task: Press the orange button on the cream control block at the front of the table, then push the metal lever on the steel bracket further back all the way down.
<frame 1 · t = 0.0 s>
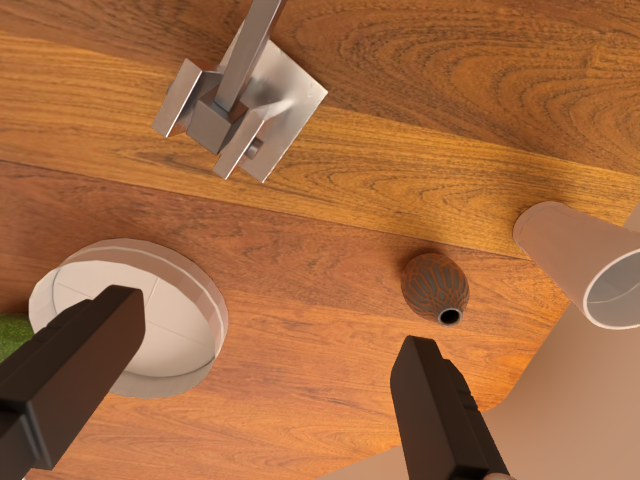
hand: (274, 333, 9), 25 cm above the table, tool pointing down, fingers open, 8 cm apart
fruit: (36, 335, 44), on the table
dish: (147, 310, 41), on the table
vase: (423, 268, 38), on the table
metal lever: (253, 37, 15), point 14 cm above the table, hinge at 25.0°
cup: (540, 226, 35), on the table
lever bracket: (257, 109, 30), on the table
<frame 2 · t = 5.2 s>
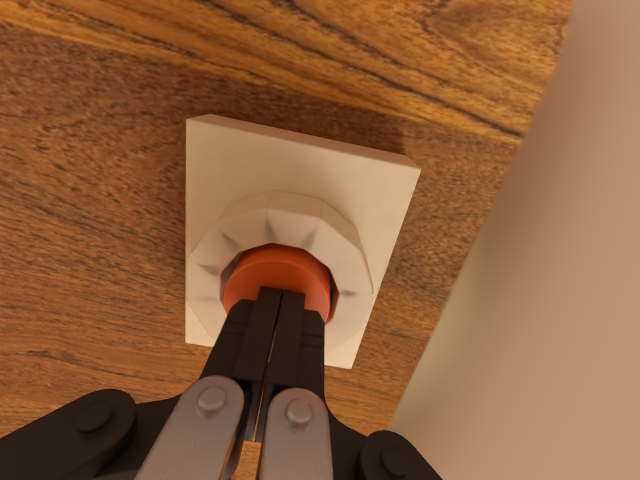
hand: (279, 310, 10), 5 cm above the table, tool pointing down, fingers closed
power button: (280, 290, 11), point 4 cm above the table, slide at -0.7 cm, touching gripper
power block: (290, 244, 14), on the table
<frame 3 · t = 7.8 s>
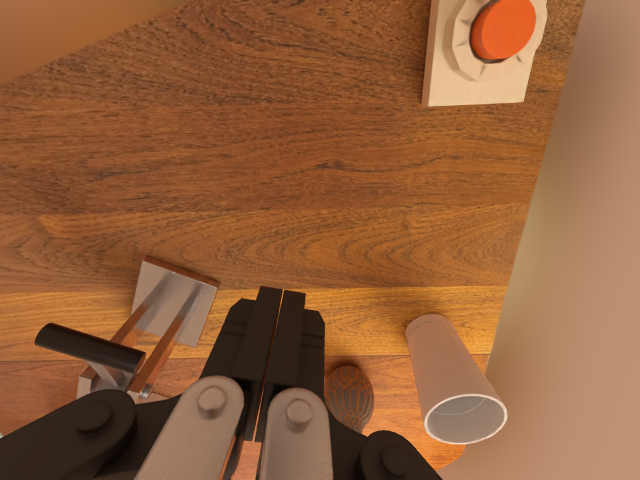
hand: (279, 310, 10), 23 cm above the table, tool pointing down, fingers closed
power button: (502, 29, 22), point 4 cm above the table, slide at 0.1 cm
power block: (475, 37, 26), on the table
vase: (346, 373, 45), on the table
metal lever: (109, 370, 25), point 14 cm above the table, hinge at 25.0°
cup: (428, 331, 41), on the table
lever bracket: (175, 301, 39), on the table
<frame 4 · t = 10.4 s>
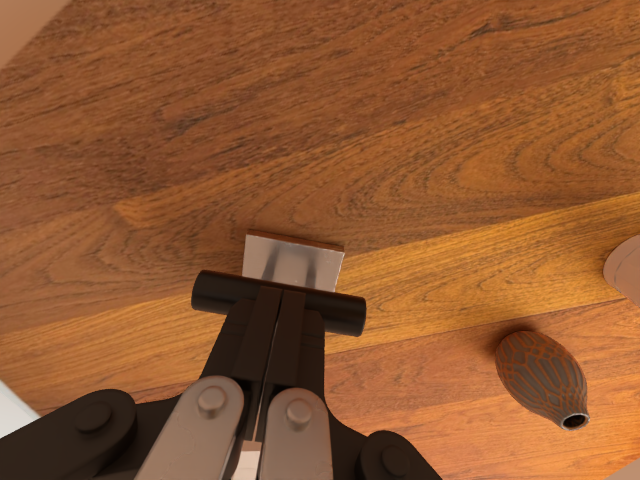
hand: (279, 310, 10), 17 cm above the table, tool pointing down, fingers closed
dish: (270, 457, 45), on the table
vase: (516, 343, 34), on the table
metal lever: (272, 361, 16), point 14 cm above the table, hinge at 23.0°, touching gripper
cup: (637, 260, 29), on the table
lever bracket: (288, 285, 31), on the table
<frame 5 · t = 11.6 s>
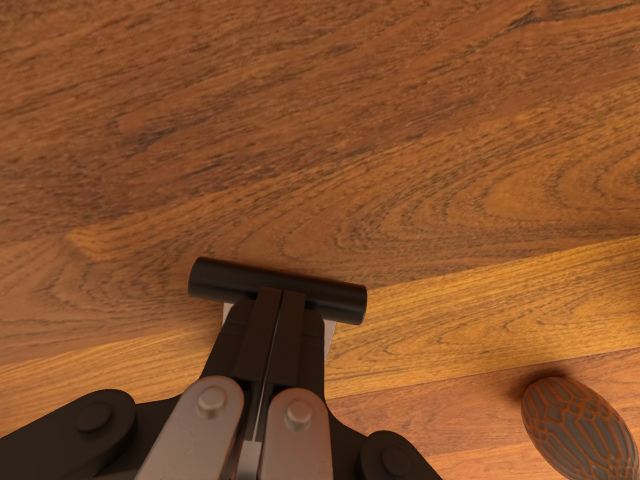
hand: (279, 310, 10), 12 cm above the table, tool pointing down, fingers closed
vase: (544, 389, 29), on the table
metal lever: (258, 414, 13), point 12 cm above the table, hinge at -4.0°, touching gripper
lever bracket: (278, 325, 26), on the table
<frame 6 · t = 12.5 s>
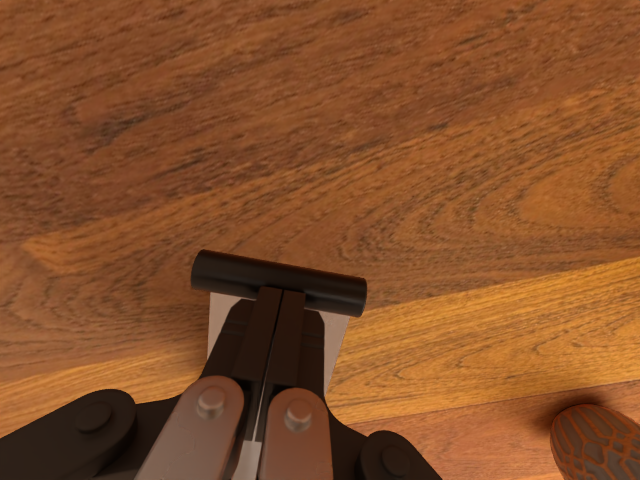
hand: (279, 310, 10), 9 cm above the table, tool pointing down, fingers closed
vase: (576, 416, 26), on the table
metal lever: (251, 446, 12), point 10 cm above the table, hinge at -22.0°, touching gripper
lever bracket: (273, 347, 23), on the table
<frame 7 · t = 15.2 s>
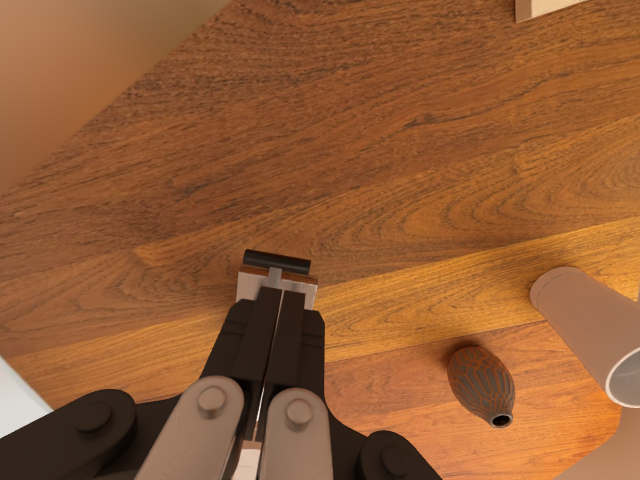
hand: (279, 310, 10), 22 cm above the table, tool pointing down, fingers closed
dish: (264, 456, 51), on the table
vase: (466, 356, 41), on the table
metal lever: (264, 331, 28), point 9 cm above the table, hinge at -30.7°
cup: (557, 289, 36), on the table
lever bracket: (274, 310, 38), on the table
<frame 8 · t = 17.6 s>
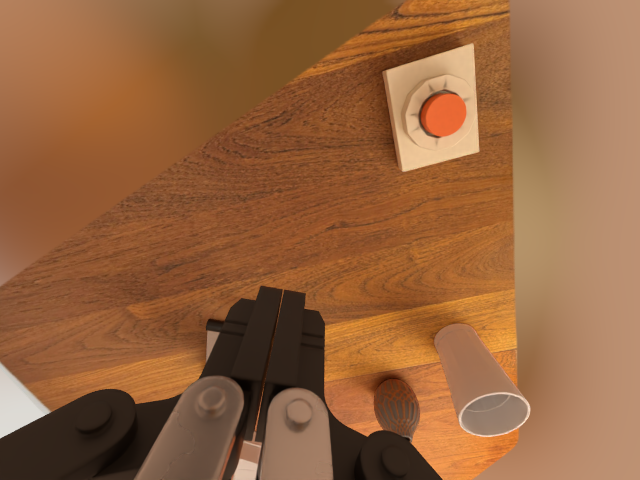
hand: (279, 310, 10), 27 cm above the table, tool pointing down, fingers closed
power button: (442, 115, 28), point 4 cm above the table, slide at 0.1 cm
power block: (428, 111, 32), on the table
dish: (236, 460, 62), on the table
vase: (391, 385, 51), on the table
metal lever: (221, 379, 38), point 9 cm above the table, hinge at -30.7°
cup: (454, 338, 46), on the table
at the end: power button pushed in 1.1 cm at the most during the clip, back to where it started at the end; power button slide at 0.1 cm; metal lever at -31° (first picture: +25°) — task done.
